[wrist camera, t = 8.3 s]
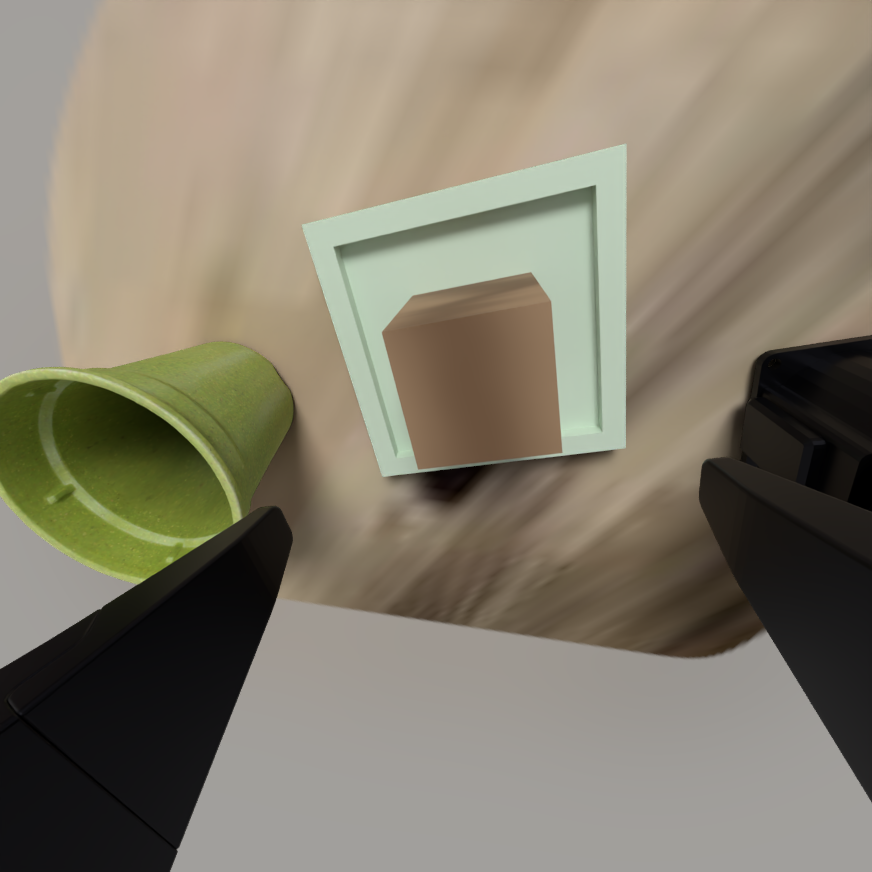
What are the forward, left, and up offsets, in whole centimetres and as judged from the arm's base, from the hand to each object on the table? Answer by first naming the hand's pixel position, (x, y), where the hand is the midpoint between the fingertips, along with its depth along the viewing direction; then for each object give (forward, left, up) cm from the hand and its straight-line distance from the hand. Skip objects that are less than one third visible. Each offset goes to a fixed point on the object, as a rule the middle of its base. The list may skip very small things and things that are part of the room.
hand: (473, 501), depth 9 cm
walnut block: (0, 0, -11) cm, 11 cm away
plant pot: (+13, +1, -12) cm, 18 cm away
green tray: (0, 0, -12) cm, 12 cm away
